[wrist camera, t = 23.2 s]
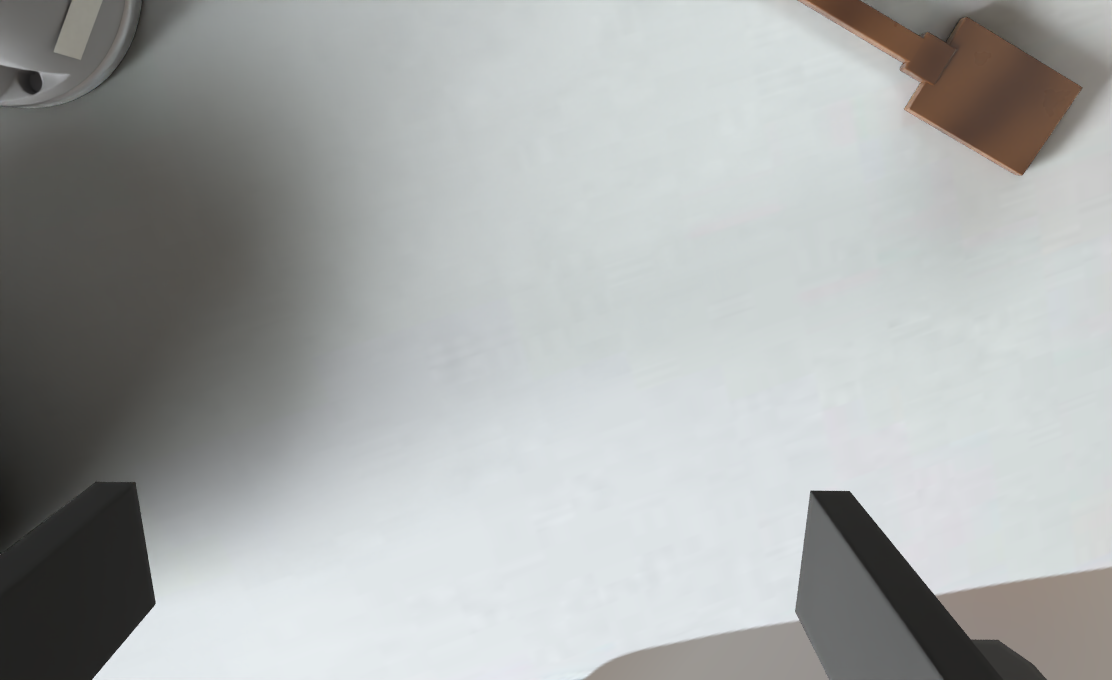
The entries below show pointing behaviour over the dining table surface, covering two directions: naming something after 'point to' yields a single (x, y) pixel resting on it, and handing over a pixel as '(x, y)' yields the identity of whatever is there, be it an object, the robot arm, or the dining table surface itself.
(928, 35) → the spatula
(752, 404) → the dining table surface
